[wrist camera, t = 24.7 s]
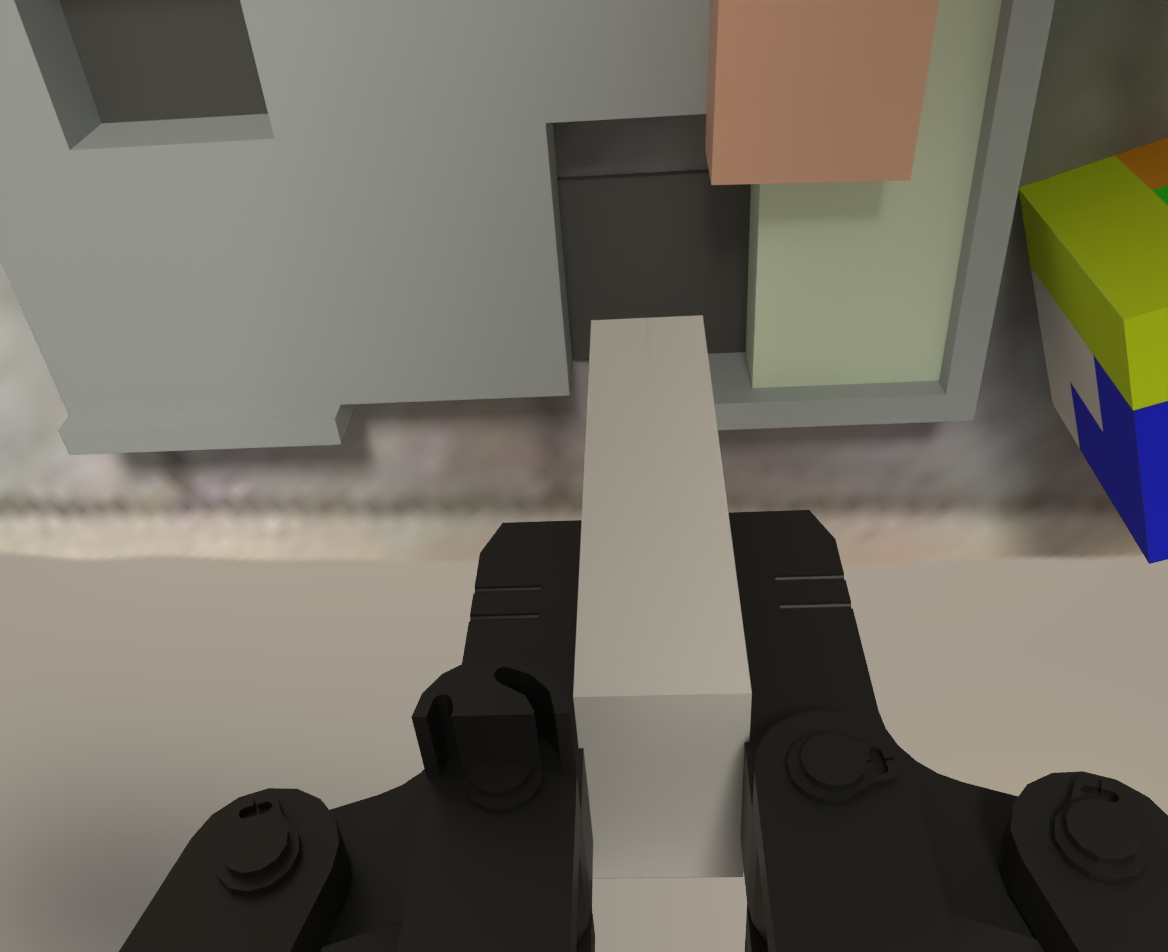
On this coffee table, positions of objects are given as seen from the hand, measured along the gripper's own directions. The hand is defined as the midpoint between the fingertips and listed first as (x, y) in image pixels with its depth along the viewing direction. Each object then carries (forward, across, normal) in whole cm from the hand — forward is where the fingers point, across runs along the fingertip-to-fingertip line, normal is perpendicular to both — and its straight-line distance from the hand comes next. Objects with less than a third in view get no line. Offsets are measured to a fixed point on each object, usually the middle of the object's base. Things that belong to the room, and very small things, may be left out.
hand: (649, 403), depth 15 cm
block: (+21, +5, -1) cm, 22 cm away
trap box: (+24, -6, -4) cm, 26 cm away
